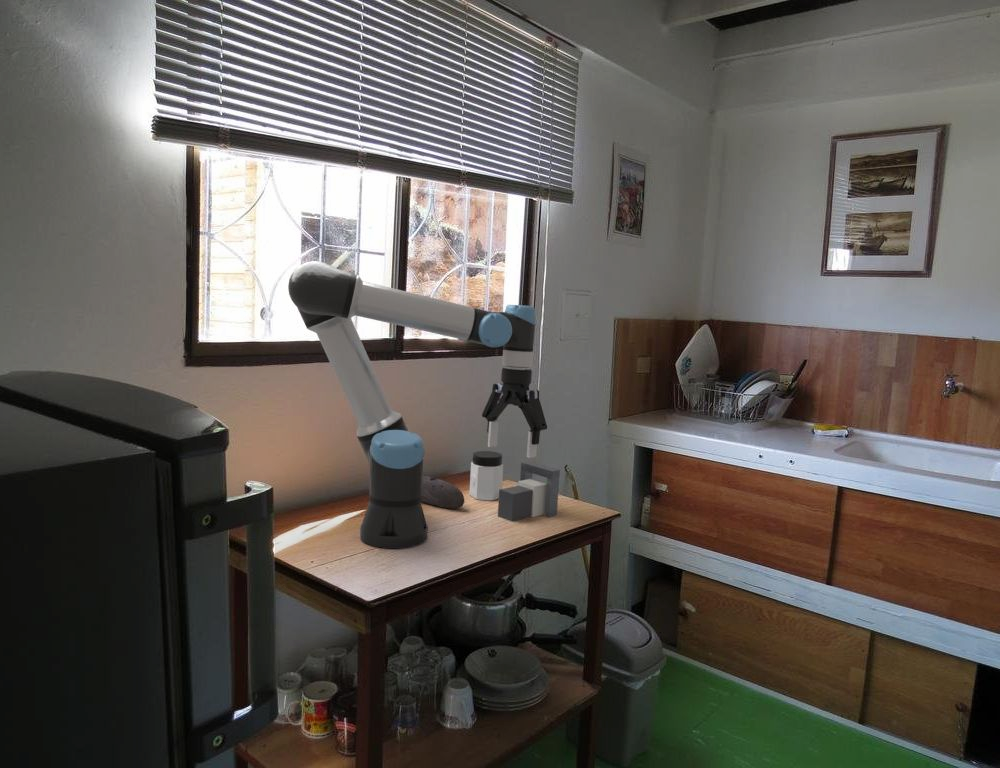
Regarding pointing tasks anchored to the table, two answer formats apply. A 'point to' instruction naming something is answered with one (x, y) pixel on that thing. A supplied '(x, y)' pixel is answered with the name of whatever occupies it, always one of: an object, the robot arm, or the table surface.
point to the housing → (552, 483)
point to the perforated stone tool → (441, 493)
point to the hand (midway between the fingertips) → (511, 451)
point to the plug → (522, 500)
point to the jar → (486, 475)
